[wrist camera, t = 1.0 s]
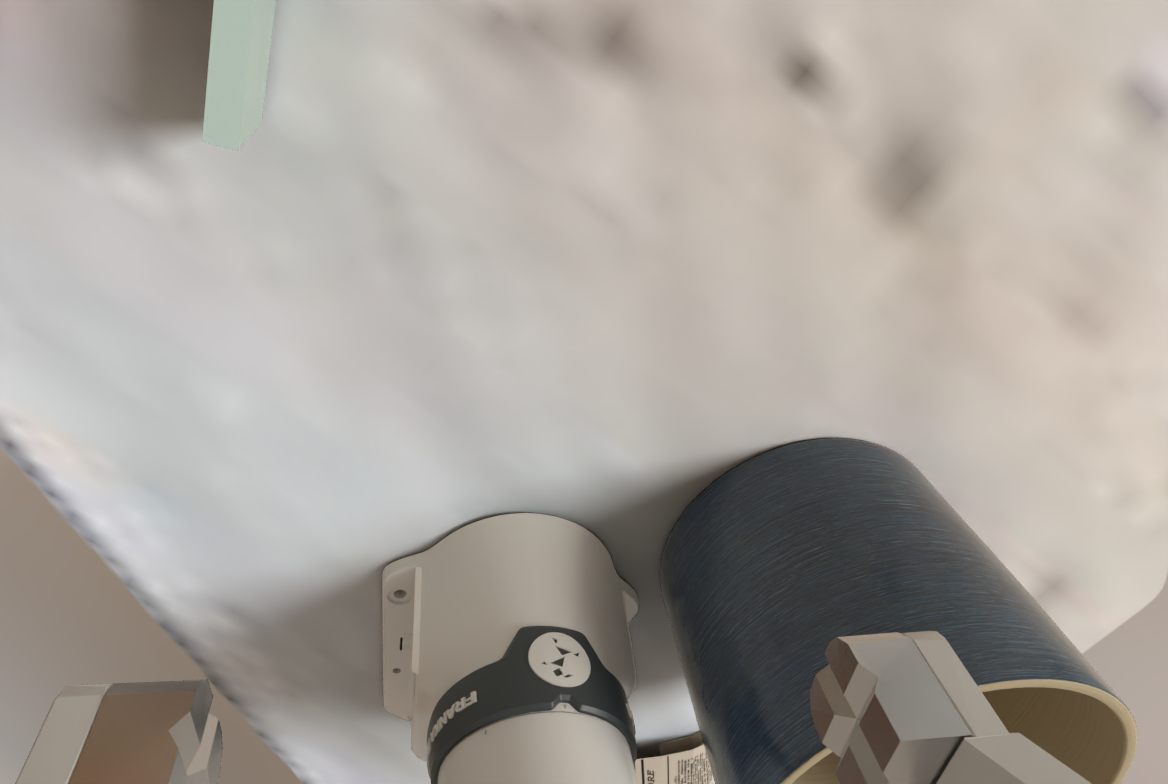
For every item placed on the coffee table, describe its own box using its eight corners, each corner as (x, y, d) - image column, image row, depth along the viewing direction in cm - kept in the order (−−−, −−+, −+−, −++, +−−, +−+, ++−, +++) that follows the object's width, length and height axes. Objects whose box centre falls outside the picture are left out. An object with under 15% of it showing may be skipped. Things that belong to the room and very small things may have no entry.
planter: (777, 680, 67) (890, 942, 50) (591, 581, 57) (654, 868, 40) (989, 520, 60) (1201, 762, 43) (819, 374, 50) (1011, 617, 33)
